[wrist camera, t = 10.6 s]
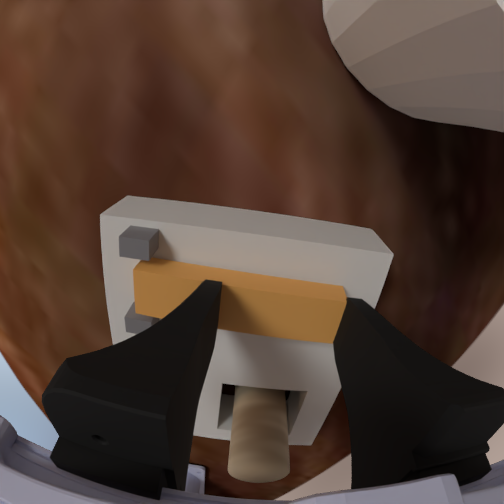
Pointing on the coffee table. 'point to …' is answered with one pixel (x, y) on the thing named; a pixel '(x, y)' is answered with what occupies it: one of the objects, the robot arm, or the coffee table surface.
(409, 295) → the coffee table surface
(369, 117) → the coffee table surface
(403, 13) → the mug
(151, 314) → the latch
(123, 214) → the white flat block
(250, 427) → the peg
